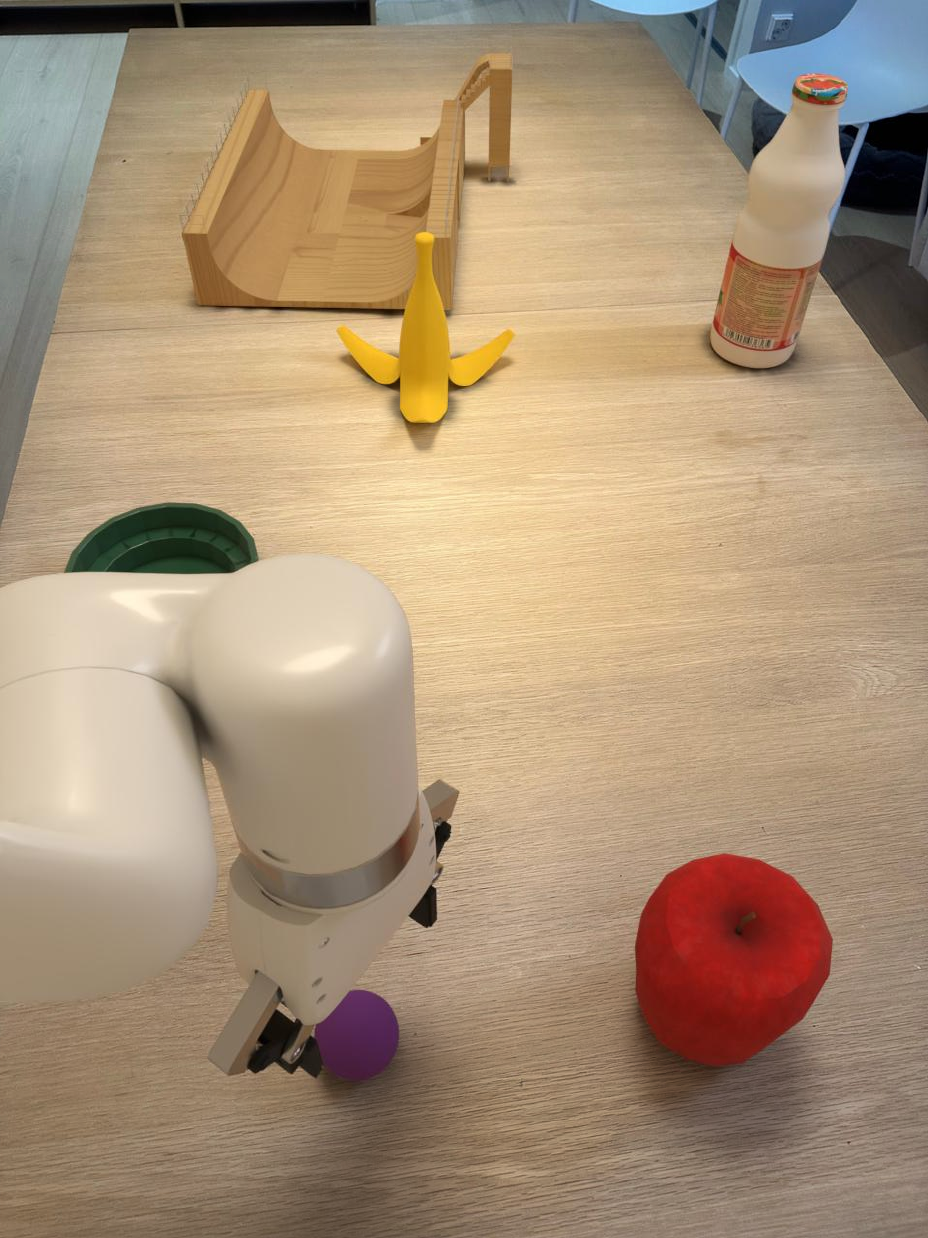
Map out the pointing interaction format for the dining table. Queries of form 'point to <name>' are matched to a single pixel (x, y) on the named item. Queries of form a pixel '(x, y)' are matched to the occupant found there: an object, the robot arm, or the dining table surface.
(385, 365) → the banana peel
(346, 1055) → the ball
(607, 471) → the dining table surface
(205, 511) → the bowl
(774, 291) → the milk bottle
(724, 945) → the apple
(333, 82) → the dining table surface
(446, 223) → the skate ramp
